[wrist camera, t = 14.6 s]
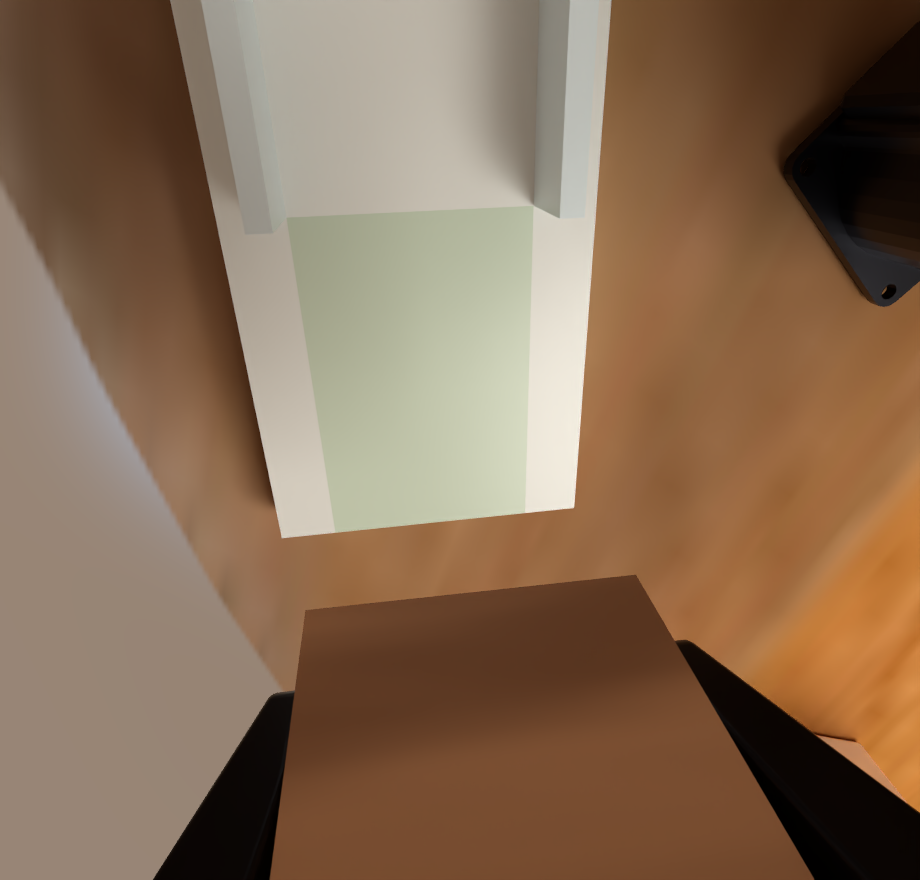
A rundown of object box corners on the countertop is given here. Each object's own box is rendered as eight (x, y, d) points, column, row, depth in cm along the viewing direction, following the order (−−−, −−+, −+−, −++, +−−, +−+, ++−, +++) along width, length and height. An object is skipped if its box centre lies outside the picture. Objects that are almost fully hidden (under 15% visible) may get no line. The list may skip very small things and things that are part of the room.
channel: (51, -679, 10) (-120, -1114, 6) (629, -620, 11) (750, -964, 8) (287, 512, 21) (271, 589, 18) (561, 485, 22) (598, 552, 19)
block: (305, 609, 9) (240, 1102, 4) (635, 574, 9) (873, 981, 5) (343, 813, 11) (326, 1264, 7) (605, 775, 12) (748, 1171, 7)
